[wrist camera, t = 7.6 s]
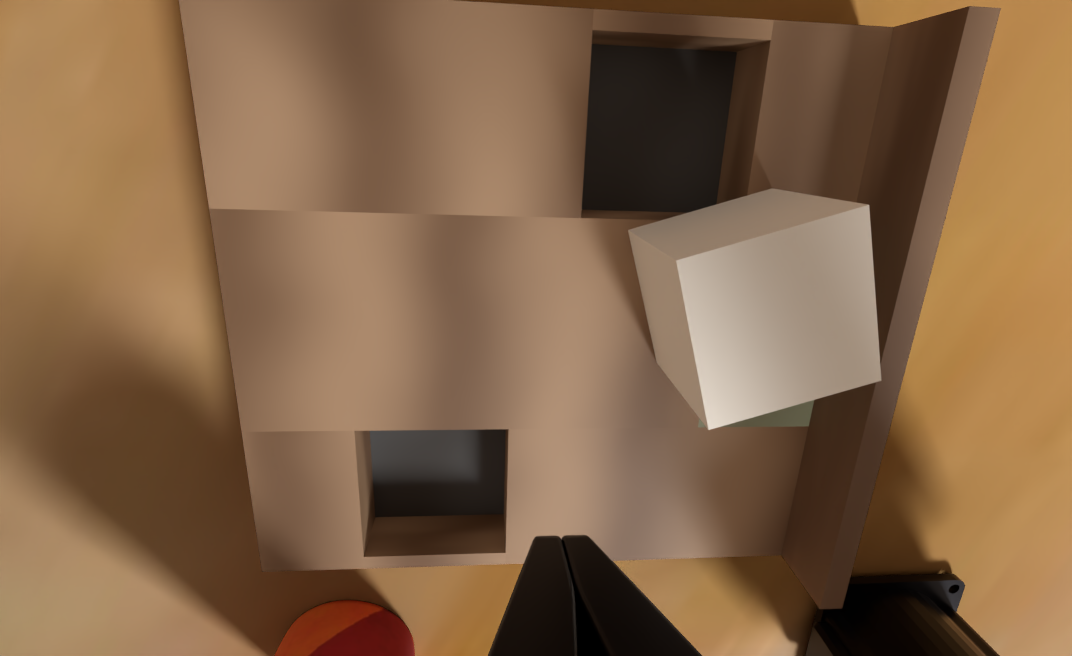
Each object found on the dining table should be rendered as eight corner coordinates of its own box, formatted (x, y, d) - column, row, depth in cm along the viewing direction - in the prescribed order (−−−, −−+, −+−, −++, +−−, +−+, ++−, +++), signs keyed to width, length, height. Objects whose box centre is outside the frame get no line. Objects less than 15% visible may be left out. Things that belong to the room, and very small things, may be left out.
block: (771, 188, 17) (869, 204, 13) (789, 324, 18) (881, 380, 14) (627, 229, 17) (676, 260, 13) (656, 362, 18) (708, 430, 14)
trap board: (865, 42, 18) (1000, 8, 13) (770, 514, 24) (841, 608, 19) (219, 5, 16) (109, -51, 11) (285, 527, 22) (229, 634, 17)
